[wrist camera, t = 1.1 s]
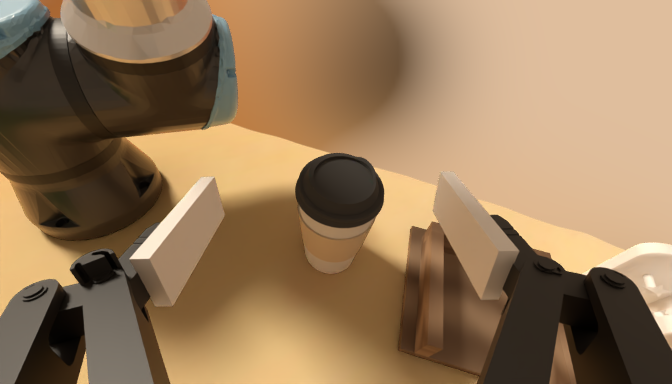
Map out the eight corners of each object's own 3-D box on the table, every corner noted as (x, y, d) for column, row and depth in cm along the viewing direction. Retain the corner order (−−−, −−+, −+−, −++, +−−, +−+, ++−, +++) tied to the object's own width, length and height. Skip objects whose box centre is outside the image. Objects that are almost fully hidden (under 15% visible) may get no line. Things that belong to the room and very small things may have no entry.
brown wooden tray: (566, 403, 29) (606, 400, 25) (398, 350, 31) (412, 339, 27) (534, 263, 40) (559, 246, 36) (410, 229, 41) (421, 209, 37)
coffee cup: (316, 294, 34) (325, 228, 22) (285, 237, 38) (279, 157, 27) (375, 262, 37) (409, 190, 26) (340, 213, 42) (356, 134, 30)
